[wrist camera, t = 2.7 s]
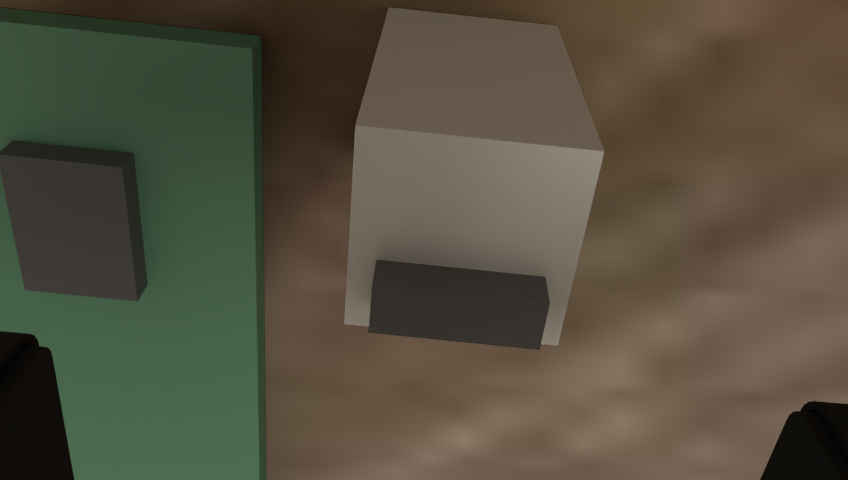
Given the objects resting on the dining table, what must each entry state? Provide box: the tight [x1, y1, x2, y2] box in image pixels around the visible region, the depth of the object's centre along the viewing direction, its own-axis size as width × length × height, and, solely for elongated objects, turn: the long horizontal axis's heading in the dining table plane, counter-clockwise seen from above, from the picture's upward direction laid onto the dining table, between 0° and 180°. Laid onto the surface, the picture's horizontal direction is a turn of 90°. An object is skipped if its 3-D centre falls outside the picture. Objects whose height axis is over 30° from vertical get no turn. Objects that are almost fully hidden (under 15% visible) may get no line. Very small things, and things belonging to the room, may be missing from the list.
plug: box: [344, 7, 604, 350], centre depth 16 cm, size 4×4×8 cm
